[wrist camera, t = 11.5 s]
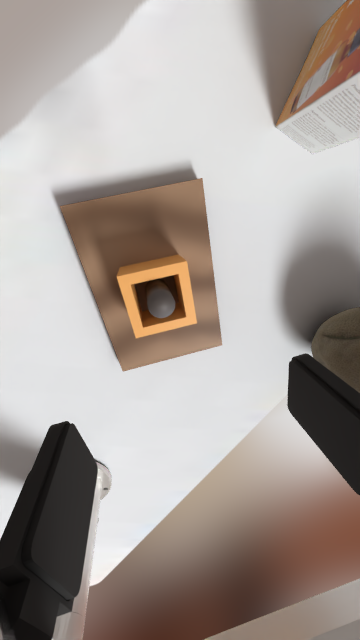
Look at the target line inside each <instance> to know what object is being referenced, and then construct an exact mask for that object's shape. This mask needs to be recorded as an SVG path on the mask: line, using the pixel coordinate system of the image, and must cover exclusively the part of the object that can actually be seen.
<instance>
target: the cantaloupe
mask: <svg viewBox="0 0 360 640" xmlns="http://www.w3.org/2000/svg"><path fill="white" fill-rule="evenodd" d="M311 349H312V354H313V358H314V359H315V360H317V361H318V362H319V363H321V364H322V365H323V366H325V367H326V368H327V369H329V370H330V371H331V372H333V373H334V374H335V375H337V376H338V377H339V378H341V379H342V380H343V381H344V382H346V383H347V384H348V385H350V386H351V387H352V388H354V389H355V390H356V391H358V392H359V393H360V307H357V308H352V309H348V310H345V311H343V312H340V313H338V314H336V315H334V316H332V317H330V318H329V319H328V320H326V321H325V322H324V323H323V324H322V325H321V326H320V327H319V329H318V330H317V332H316V334H315V336H314V338H313V340H312V345H311Z"/></svg>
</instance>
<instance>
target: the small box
mask: <svg viewBox="0 0 360 640" xmlns="http://www.w3.org/2000/svg"><path fill="white" fill-rule="evenodd" d="M276 128H277V129H279V130H280V131H281V132H283V133H284V134H285V135H287V136H288V137H289V138H291V139H292V140H294V141H295V142H296V143H298V144H299V145H300V146H302V147H303V148H304V149H306V150H307V151H309V152H310V153H311V154H315V153H318V152H321V151H323V150H326V149H329V148H332V147H335V146H338V145H340V144H343V143H346V142H349V141H352V140H355V139H358V138H360V0H347V1H346V2H345V3H344V4H343V5H342V6H341V7H340V8H339V9H338V10H337V11H336V12H335V13H334V14H333V15H332V16H331V17H330V18H329V19H328V20H327V21H326V22H325V23H324V24H323V25H322V26H321V28H320V29H319V31H318V33H317V36H316V38H315V40H314V43H313V45H312V47H311V50H310V52H309V54H308V56H307V59H306V61H305V63H304V65H303V67H302V70H301V72H300V74H299V76H298V78H297V80H296V83H295V85H294V87H293V89H292V91H291V93H290V95H289V98H288V100H287V102H286V104H285V106H284V108H283V111H282V113H281V115H280V117H279V119H278V121H277V123H276Z"/></svg>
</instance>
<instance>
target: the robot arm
mask: <svg viewBox="0 0 360 640" xmlns="http://www.w3.org/2000/svg"><path fill="white" fill-rule="evenodd" d="M288 409H289V411H290V413H291V414H292V415H293V417H294V418H295V419H296V420H297V421H298V423H299V424H300V425H301V426H302V428H303V429H304V430H305V431H306V432H307V434H308V435H309V436H310V437H311V439H312V440H313V441H314V442H315V443H316V445H317V446H318V447H319V448H320V450H321V451H322V452H323V453H324V455H325V456H326V457H327V458H328V459H329V461H330V462H331V463H332V464H333V466H334V467H335V468H336V469H337V470H338V472H339V473H340V474H341V475H342V477H343V478H344V479H345V480H346V481H347V483H348V484H349V485H350V486H351V488H353V490H354V491H355V492H356V493H357V494H359V495H360V393H359V392H358V391H356V390H355V389H354V388H352V387H351V386H350V385H348V384H347V383H346V382H344V381H343V380H342V379H341V378H339V377H338V376H337V375H335V374H334V373H333V372H331V371H330V370H329V369H327V368H326V367H325V366H323V365H322V364H321V363H319V362H318V361H317V360H315V359H314V358H313V357H312V356H310V355H309V354H302V355H299V356H295V357H293V358H292V361H290V362H289V379H288ZM111 481H112V477H111V474H110V472H109V470H108V469H107V468H106V467H105V466H103V465H102V464H100V463H98V462H96V461H95V459H94V458H93V456H92V454H91V453H90V451H89V449H88V447H87V446H86V444H85V442H84V440H83V439H82V437H81V435H80V434H79V432H78V430H77V428H76V427H75V425H74V424H73V423H72V424H70V423H69V422H68V421H65V422H62V423H58V424H55V425H52V426H50V428H49V430H48V432H47V434H46V437H45V439H44V442H43V444H42V446H41V449H40V451H39V453H38V456H37V458H36V461H35V463H34V465H33V468H32V470H31V471H30V473H29V475H28V476H27V478H26V481H25V483H24V486H23V488H22V490H21V493H20V495H19V497H18V500H17V502H16V504H15V507H14V509H13V511H12V514H11V516H10V518H9V521H8V523H7V526H6V528H5V530H4V533H3V535H2V537H1V540H0V640H82V639H83V631H84V623H85V615H86V607H87V599H88V592H89V584H90V576H91V568H92V561H93V553H94V545H95V537H96V529H97V523H98V521H99V518H98V514H99V506H100V500H101V499H103V498H104V497H105V496H106V495H107V494H108V492H109V490H110V488H111ZM204 640H360V579H358V580H355V581H353V582H350V583H347V584H345V585H342V586H340V587H337V588H335V589H332V590H329V591H327V592H324V593H321V594H319V595H316V596H314V597H311V598H309V599H306V600H303V601H301V602H298V603H296V604H293V605H291V606H289V607H286V608H283V609H280V610H278V611H275V612H273V613H271V614H268V615H265V616H262V617H260V618H257V619H255V620H253V621H250V622H248V623H245V624H242V625H240V626H237V627H235V628H232V629H229V630H227V631H224V632H222V633H219V634H217V635H214V636H212V637H209V638H206V639H204Z"/></svg>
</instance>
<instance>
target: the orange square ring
mask: <svg viewBox="0 0 360 640" xmlns="http://www.w3.org/2000/svg"><path fill="white" fill-rule="evenodd" d="M172 275H174V280H175V285H176V290H177V295H178V301H179V303H175V309H174V311H173V313H172V314H171V315H169V316H168V317H165V318H157V317H154V316H153V315H152V314H151V313H150V312H149V310H145V311H142V310H141V306H140V303H139V299H138V296H137V292H136V289H135V285H134V284H136V283H141V282H145V281H149V280H154V279H158V278H163V277H167V276H172ZM117 280H118V283H119V286H120V289H121V292H122V296H123V299H124V302H125V305H126V308H127V312H128V315H129V318H130V321H131V324H132V328H133V331H134V334H135V337H136V338H140V337H144V336H148V335H152V334H156V333H160V332H164V331H168V330H172V329H176V328H180V327H184V326H188V325H192V324H196V323H197V319H196V313H195V307H194V301H193V295H192V289H191V282H190V276H189V270H188V264H187V261H186V260H185V259H184V258H182V257H181V256H180V255H179V254H178V255H174V256H169V257H164V258H160V259H155V260H151V261H146V262H141V263H137V264H132V265H128V266H123V267H120V268H119V271H118V274H117Z"/></svg>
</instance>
